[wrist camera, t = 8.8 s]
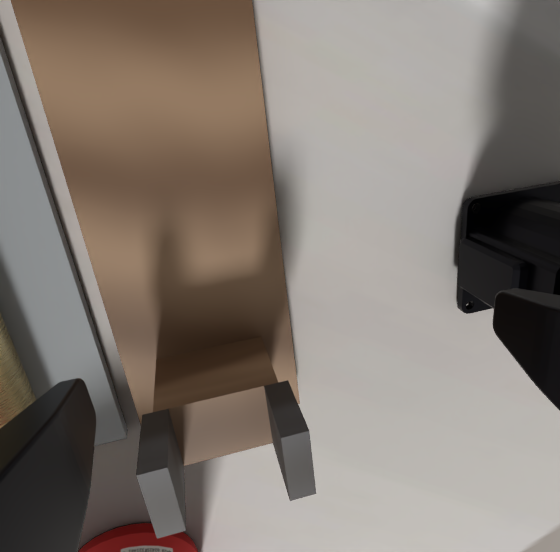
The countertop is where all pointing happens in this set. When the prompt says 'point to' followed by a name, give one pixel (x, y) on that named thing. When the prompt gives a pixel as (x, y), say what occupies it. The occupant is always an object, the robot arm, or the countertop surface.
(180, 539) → the canned food
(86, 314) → the mat
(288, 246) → the countertop surface
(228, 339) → the stand
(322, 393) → the countertop surface
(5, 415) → the rail
